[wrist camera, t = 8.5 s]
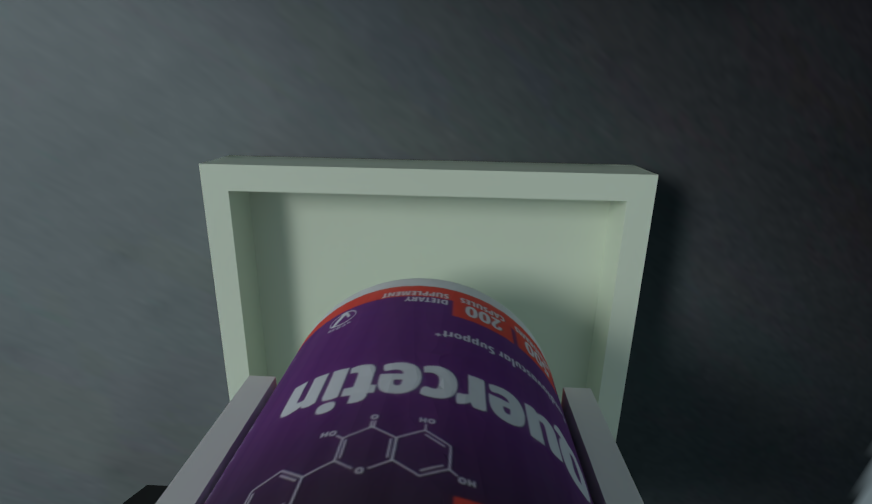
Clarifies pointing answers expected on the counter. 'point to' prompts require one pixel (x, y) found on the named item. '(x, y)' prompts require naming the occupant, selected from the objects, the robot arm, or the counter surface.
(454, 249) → the tray
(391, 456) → the pill bottle
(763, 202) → the counter surface
